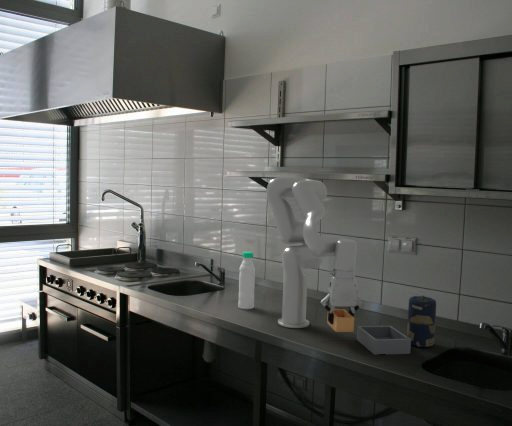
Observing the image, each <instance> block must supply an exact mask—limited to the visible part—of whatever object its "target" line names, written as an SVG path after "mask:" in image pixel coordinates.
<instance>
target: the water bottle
mask: <svg viewBox="0 0 512 426" xmlns="http://www.w3.org/2000/svg"><path fill="white" fill-rule="evenodd" d="M253 259H254V252H252V251H243V252H242V262H241V264H240V266H239V268H238V269H239V275H238V276H239V278H238V303H237V307H238V308H239V309H240V310H252V309H253V308H254V307H255V285H256V266H255V264H254V261H253Z"/></svg>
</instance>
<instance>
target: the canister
mask: <svg viewBox="0 0 512 426" xmlns="http://www.w3.org/2000/svg"><path fill="white" fill-rule="evenodd" d="M407 311H408V312H407V328H406V336H407V337H408V338H410V339H411V345H412V346H414V347H419V348H429V347H433V346H434V345H435V337H436V333H435V332H436V326H437V325H436V321H437V320H436V315H437V301H436V300H435V299H434V298H432V297H429V296H425V295H416V296H411V297H409V299H408V310H407Z"/></svg>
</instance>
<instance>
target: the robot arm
mask: <svg viewBox="0 0 512 426" xmlns="http://www.w3.org/2000/svg"><path fill="white" fill-rule="evenodd" d="M327 196H328V188H327V187H326V185H325V184H324V183H323V182H322V181H320V180H316V179H310V178H306V177H305V178H304V177H295V176H294V177H290V176H289V177H288V176H278V177H275V178H272V179H271V180H270V181H269V182H268V184H267V186H266V200H267V202H268V205H269V207H270V210H271V212H272V214H273V219H274V221H275V225H276V228H277V229H276V230H277V232H278V235H279V236H278V237H279V239H280V241H281V243H283V244H286V245H290V246H287V247H286V248H285V249H284V250H283V251H282V253H281V263H282V272H283V275H282V277H283V279H282V280H283V281H282V283H283V284H282V285H283V286H282V303H281V304H282V305H281V307H282V308H281V310H282V311H281V318H278V319H277V323H278V325H279V326H282V327H284V328H289V329H301V328H302V329H303V328H307V327H309V326H310V321H309V320H308V319H306V318H307V317H306V315H307V298H308V297H307V295H308V279H307V275H306V274H305V272H304V270H308V269H309V270H310V269H315V268H319V267H320V266H321V265H322V264H323V262H324V258H325V257H334V261H333V269H332V270H329V275H332V276H331V277H330V280H329V283H328V290H327V295H326V296H325V297H324V298H323V299H321V301H320V304H321V305H322V306H323V307H324V309H325V310H326V311H327V315H328V321H329V323H330V324H333V318H334V313H333V311H334V309H336V308H339V307H340V308H348V311H347V312H348V313H349V314H350V315H352V316H353V317H354V316H355V314H356V311H358V310H359V308H360V307H362V305H363V304H364V301H362V299H360V297H359V288H358V279H357V278H356V266H357V265H356V264H357V250H358V242H357V241H356V240H354V239H348V238H345V237H343V236H341V235H336V234H335V235H320V233H319V231H318V230H317V227H316V223H317V222H319V220H321V219H323V218H324V217H325V215H326V208H325V207H324V204H323V201H324V200H326V198H327ZM287 199H294V200H295V202H296V204H297V206H298V208H299V210H300V212H301V214H302V216H303V217H304V219H301V220H299V219H298V218H297V217H296V216H297V215H296V213H295V210H294V207H292V204H290V202H289V201H287ZM295 244H296V245H295ZM297 244H299V245H297ZM327 303H328V304H329V305H328V304H327ZM354 318H355V317H354Z"/></svg>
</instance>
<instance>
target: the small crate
mask: <svg viewBox="0 0 512 426" xmlns="http://www.w3.org/2000/svg"><path fill="white" fill-rule="evenodd" d="M333 313H334V318H333V324H330V323H329V321H328V314H327V315H326V316H327V317H326V324H328V326H330V328H331V329H332V330H333V331H335V332H336V333H354V331H355V330H354V329H355V328H354V327H355V317H353V316H352V315H350V314H349V313H348V311H347V310H346V309H345V308H344V309H343V308H342V309H341V308H340V309H339V308H335V309H334V311H333Z"/></svg>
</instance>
